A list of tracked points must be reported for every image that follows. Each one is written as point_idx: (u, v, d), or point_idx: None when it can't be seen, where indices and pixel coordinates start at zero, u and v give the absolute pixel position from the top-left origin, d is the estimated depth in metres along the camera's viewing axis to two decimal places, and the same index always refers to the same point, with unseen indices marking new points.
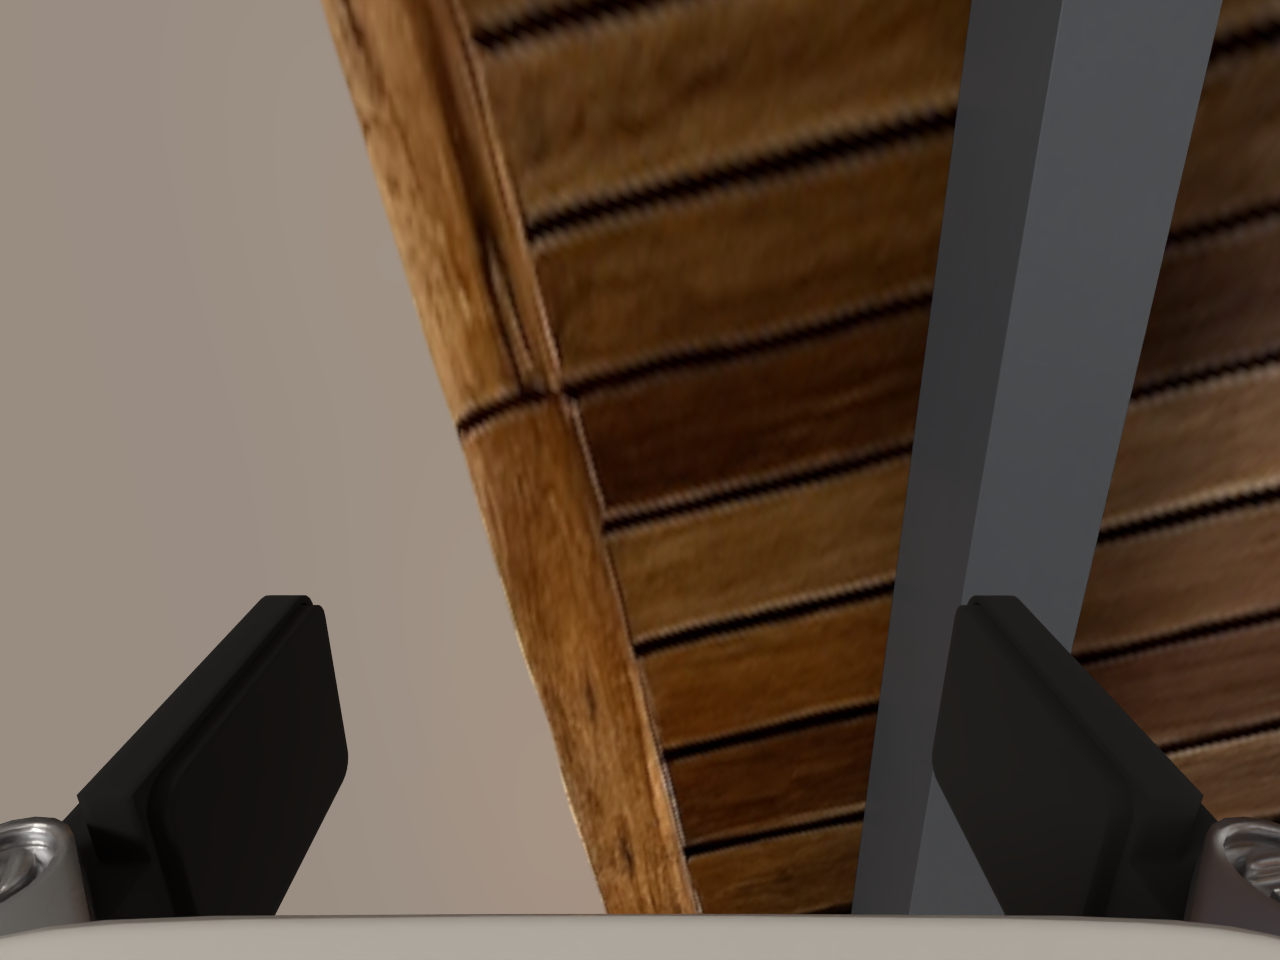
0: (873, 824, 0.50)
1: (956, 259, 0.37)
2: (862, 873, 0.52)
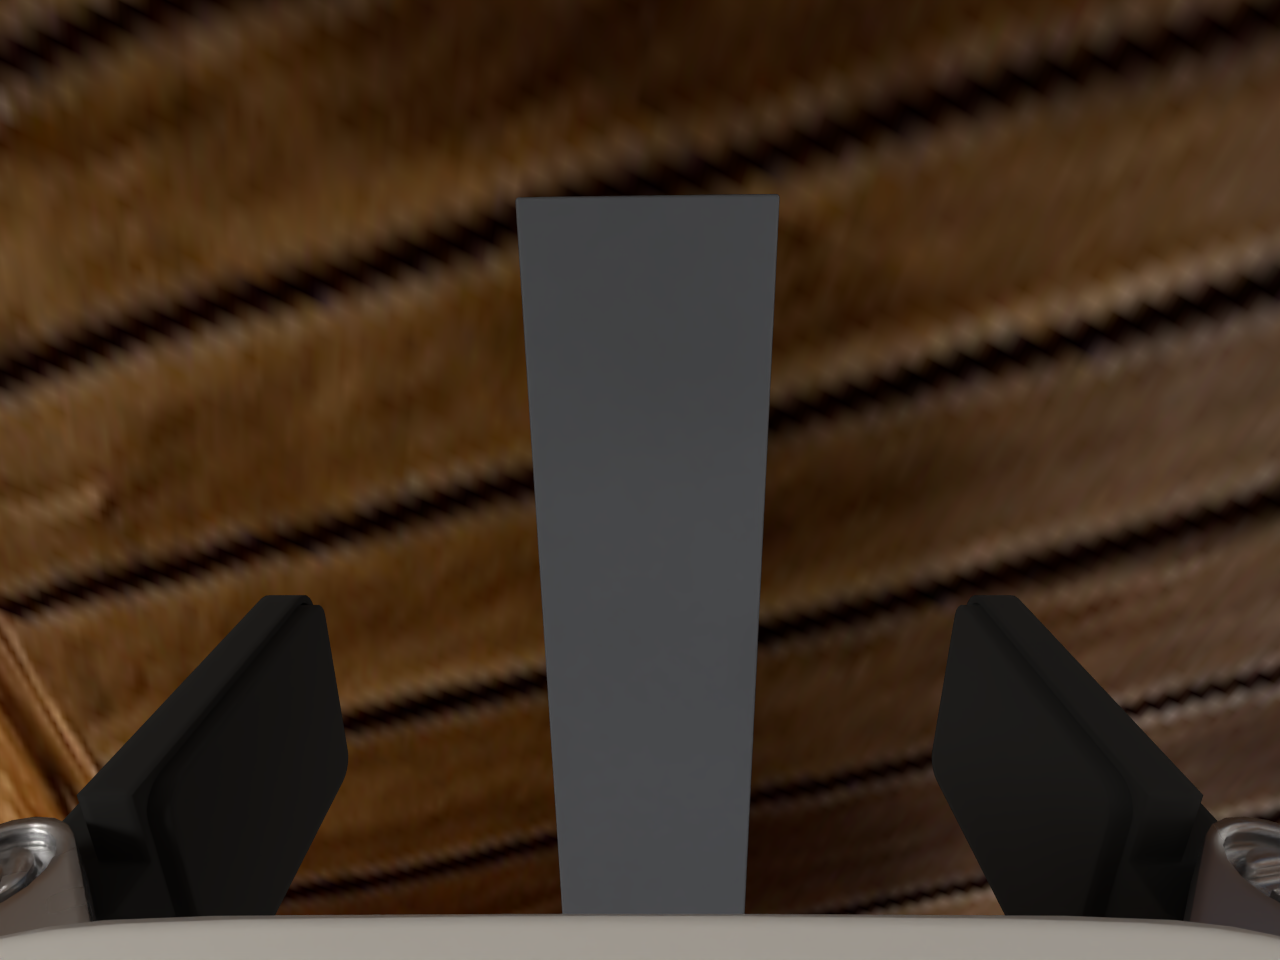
0: None
1: None
2: None
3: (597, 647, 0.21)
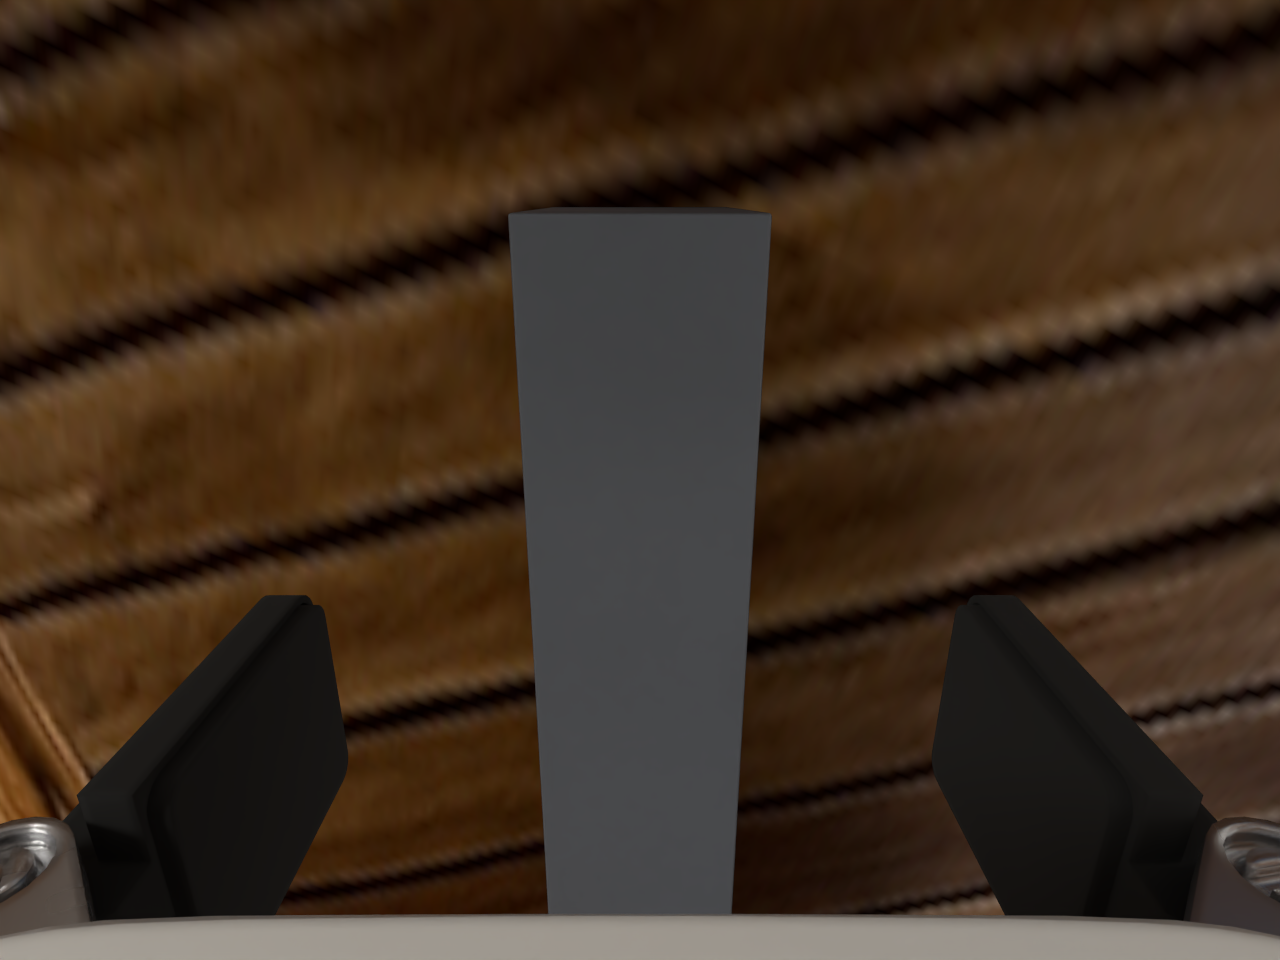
0: None
1: None
2: None
3: (585, 659, 0.21)
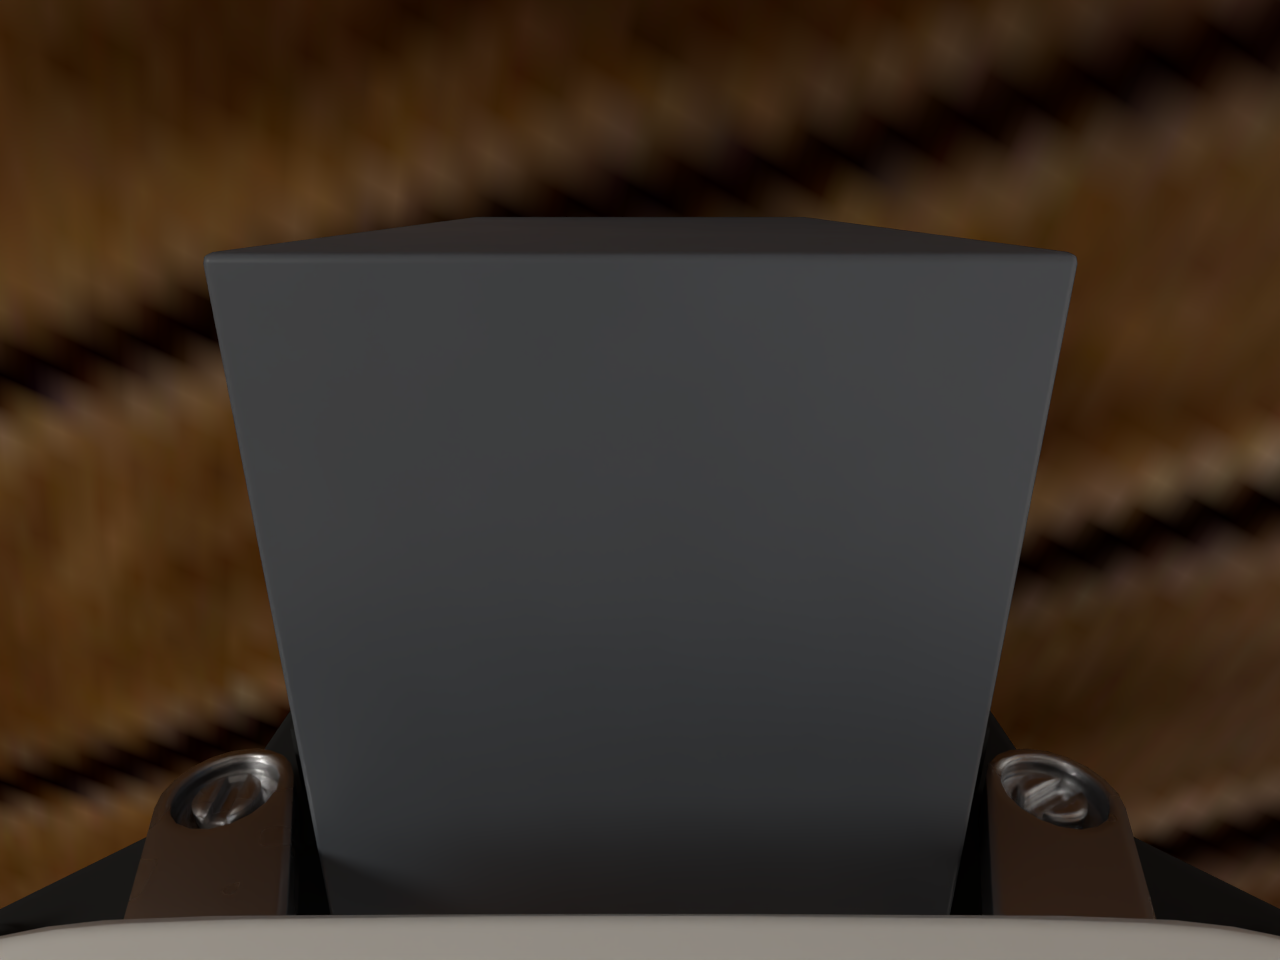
0: None
1: None
2: None
3: None
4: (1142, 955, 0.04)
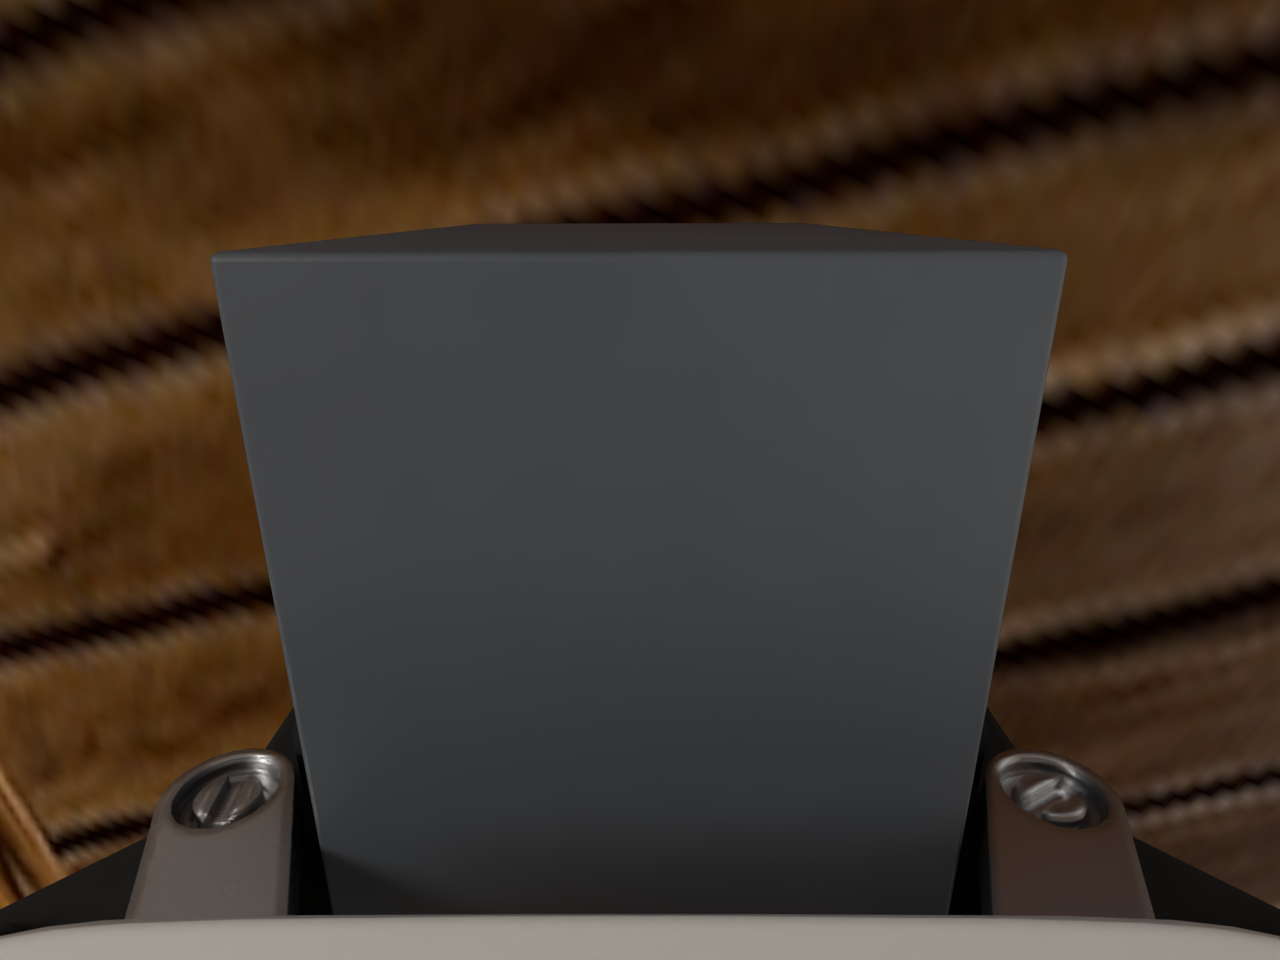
0: None
1: None
2: None
3: None
4: (1142, 955, 0.04)
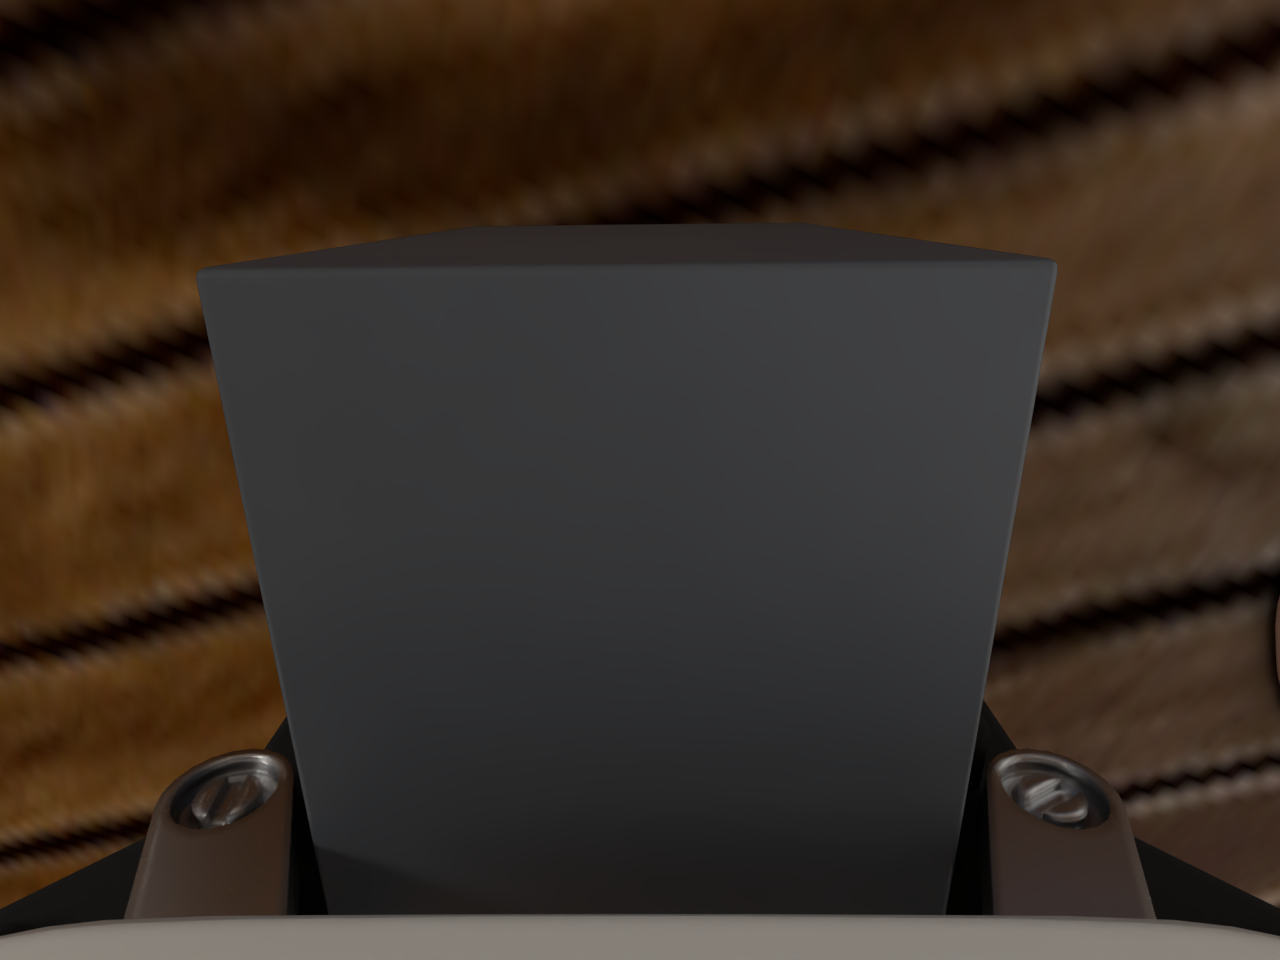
0: None
1: None
2: None
3: None
4: (1142, 955, 0.04)
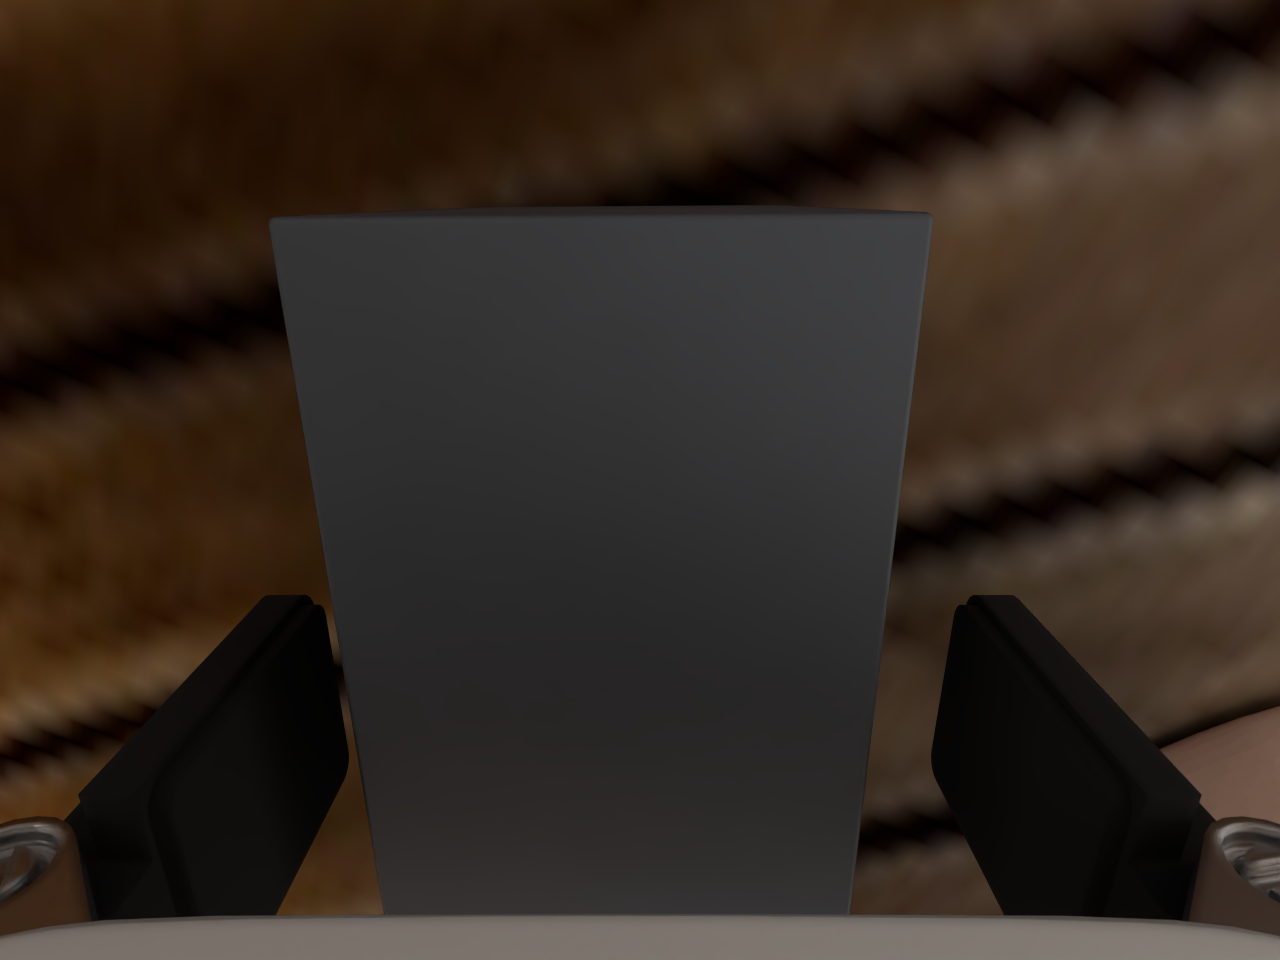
0: None
1: None
2: None
3: None
4: (1142, 955, 0.04)
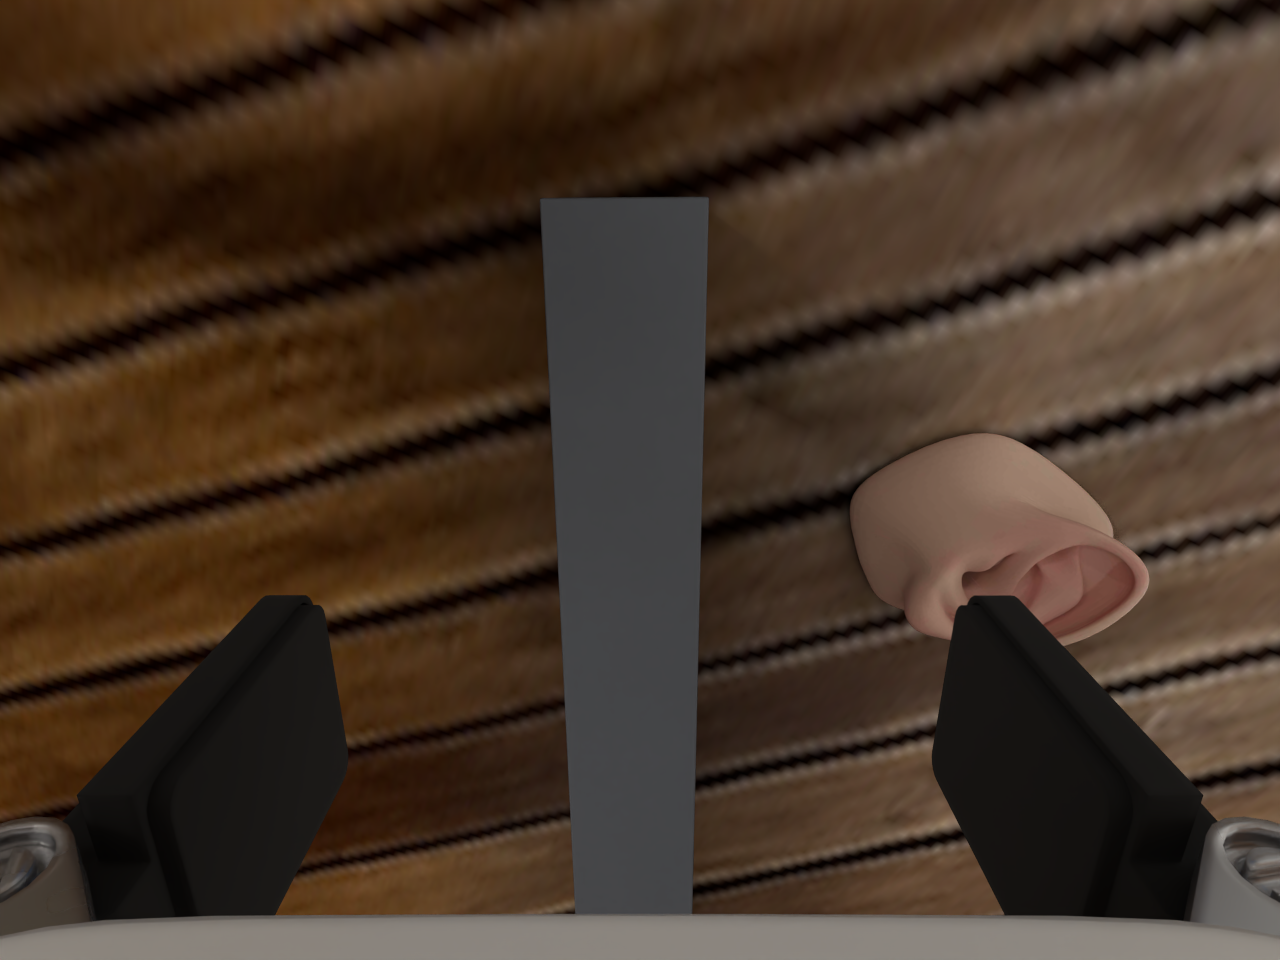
0: None
1: None
2: None
3: (591, 507, 0.30)
4: (1142, 955, 0.04)
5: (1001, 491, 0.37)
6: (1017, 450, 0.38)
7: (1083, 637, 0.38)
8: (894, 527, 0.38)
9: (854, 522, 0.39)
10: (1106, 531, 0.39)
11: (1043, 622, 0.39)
